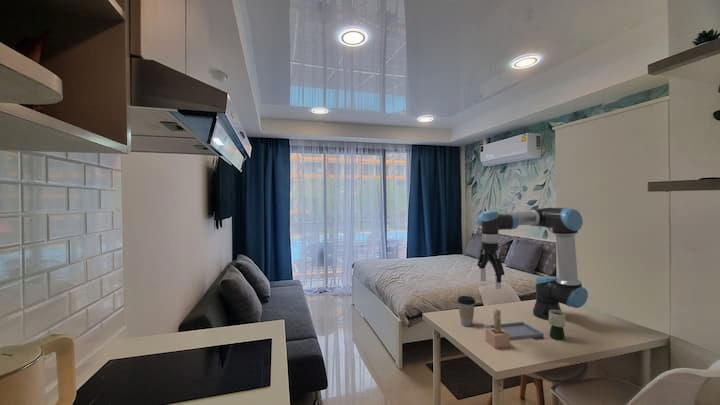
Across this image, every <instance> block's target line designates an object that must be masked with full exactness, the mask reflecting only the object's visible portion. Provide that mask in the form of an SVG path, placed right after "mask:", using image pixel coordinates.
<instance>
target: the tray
mask: <svg viewBox="0 0 720 405" xmlns="http://www.w3.org/2000/svg"><path fill="white" fill-rule="evenodd" d="M485 326H486V327H485V329H490V328H494V324H486V325H485ZM501 329H503V330H504V331H506V332H507V333H508V334H510V340H511V341H512V340H513V341H514V340H521V339H532V340H539V339H544V333H543V332H541V331H540V330H538V329H536V328H535V327H534V326H531V325H529V324H528V323H526V322H525V321H517V322H507V323H501Z"/></svg>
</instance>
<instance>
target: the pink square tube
mask: <svg viewBox="0 0 720 405" xmlns="http://www.w3.org/2000/svg"><path fill="white" fill-rule="evenodd" d="M485 342H486V343H488V344H489V345H490V346H491V347H493V349H494V350H495V349H503V348H510V347H511V345H510V343H511V341H510V334H508V333H507V332H506V331H504V330H503V329H501V333H500V334H495V333H494V328H490V329H487V328H485Z"/></svg>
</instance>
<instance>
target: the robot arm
mask: <svg viewBox="0 0 720 405" xmlns="http://www.w3.org/2000/svg"><path fill="white" fill-rule="evenodd" d="M476 222H477V225H478V226H480V227H481V241H482V242H481V249H480V253H479V258H478V262H477V263H476V264H477V267H478V269H479V281H480V282H486V281H487V280H486V278H487V272H486V271H487V270H486V267H487V264H488V262H490V264H491V265H492V268H493V271H494V289H495V290H501V289H502V276H505V271H504V266H503V262H502V259H501V254H500V253H497V251H499V230H511V231H512V230H515V229H517V228H519V226H531V227H541V228H547V229H551V231H552V234H553V235H555V240H556V243H555V244H556V254H557V265H558V277H557V276H552V275H542V276H538V277H536V280H535V304H534V306H533V309H532V315H534V316H535V317H537V318H540V319H544V320H547V321H549V310H559V311H562V308H561V306H560V304H562V305H565V306H568V307H570V308H573V309H574V308H576V309H579V308H581V307H583V306H584V305H585V304H586V303H587V301H588V298H589V293H588V292H589V291H588V290H587V289H586V288H585V287H583V284H582V281H581V280H580V279H579V277H578V265H577V264H578V263H577V262H578V261H577V248H576V247H577V246H576V235H577V234H578V233H579V230H581V229H582V226H583V223H584V220H583V216H582V215H581V213H580V212H579V211H578V210H577V209H574V208H569V207H543V208H535V209H529V210H527V211H513V212H512V211H510V212H498V211H496V210H485V211H483V212H481V213H480V214H478V216H477V218H476Z"/></svg>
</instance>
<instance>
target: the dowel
mask: <svg viewBox="0 0 720 405" xmlns="http://www.w3.org/2000/svg"><path fill="white" fill-rule="evenodd" d="M501 312H502V311H501V310H499V309H493V325H494V333H495V334H500V333H501V324H502V322H501V320H502V319H501V318H502V317H501Z"/></svg>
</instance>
